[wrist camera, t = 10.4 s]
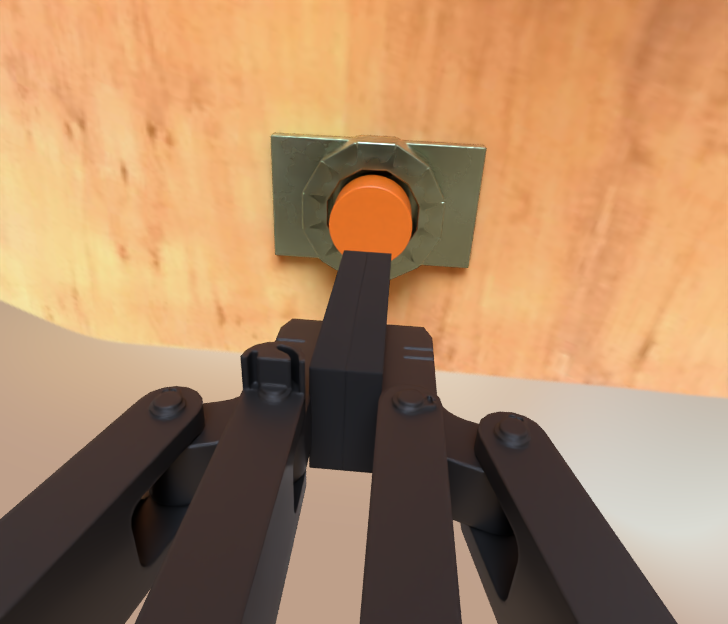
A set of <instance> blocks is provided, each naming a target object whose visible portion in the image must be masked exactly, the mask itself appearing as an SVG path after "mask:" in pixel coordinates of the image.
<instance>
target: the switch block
mask: <svg viewBox="0 0 728 624" xmlns="http://www.w3.org/2000/svg"><path fill="white" fill-rule="evenodd" d="M485 155H486V147H485V146H484V145H474V144H457V143H440V142H423V141H406V140H401V139H399V138H396V137H388V136H371V135H359V136H356V137H339V136H322V135H305V134H289V133H273V134H272V135H271V158H272V185H273V212H274V239H275V255H284V256H298V257H313V258H319V259H320V260H321V261H322V262H324V263H326V264H327V265H329V266H331V267H332V268H334V269H335V270H337V271H338V269H339V265H340V262H341V259H342V254H341V253H340V252H339V251H338V249H337V248H336V247H335V245H334V243H333V241H332V239H331V236H330V232H329V218H330V214H331V211H332V209H333V206H334V204H335V201H336V199H337V196H338V195H339V193H340V191H341V190H342V189H343V188H344V186H345V185H346V184H348V183H349V182H350V181H352V180H354V179H356V178H358V177H361V176H365V175H380V176H384V177H387V178H389V179H391V180H393V181H395V182H396V183H397V184H398V185H400V186H401V187H402V189H403V190H404V191H405V193H406V194H407V196H408V198H409V201H410V204H411V210H412V234H411V238H410V241H409V243H408V245H407V246H406V248H405V249H404V251H403V252H402V253H401V254H400V255H399V256H398V257H396V258H395V259H394V260H392V261H391V270H390V280H391V279H393V278H396V277H398V276H400V275H402V274H405V273H407V272H409V271H411V270H414V269H416V268H418V267H419V266H420V265H430V266H445V267H460V268H468V267H469V260H470V254H471V247H472V241H473V234H474V227H475V221H476V214H477V208H478V201H479V195H480V188H481V181H482V175H483V168H484V162H485Z"/></svg>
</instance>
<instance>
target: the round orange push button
mask: <svg viewBox="0 0 728 624" xmlns="http://www.w3.org/2000/svg"><path fill="white" fill-rule="evenodd" d="M329 232H330V236H331V239H332V241H333V243H334V245H335V247H336V248H337V249H338V251H339V252H340V253H341V254H342V255H343V252H344V250H348V251H362V252H377V253H391V254H392V256H391V261H392V260H394V259H395V258H396V257H398V256H399V255H400V254H401V253H402V252H403V251H404V249H405V248H406V246H407V245H408V243H409V241H410V238H411V234H412V210H411V204H410V201H409V198H408V196H407V194H406V193H405V191H404V190H403V189H402V187H401V186H400V185H398V184H397V183H396V182H395V181H393V180H391V179H389V178H387V177H384V176H380V175H365V176H361V177H358V178H356V179H354V180H352V181H350V182H349V183H348V184H346V185H345V186H344V188H343V189H342V190H341V191H340V193H339V195H338V196H337V199H336V201H335V204H334V206H333V209H332V211H331V214H330V218H329Z"/></svg>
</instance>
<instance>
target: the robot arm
mask: <svg viewBox="0 0 728 624" xmlns="http://www.w3.org/2000/svg"><path fill="white" fill-rule="evenodd" d="M391 256H392V254H391V253H377V252H362V251H348V250H344V252H343V255H342V259H341V262H340V265H339V269H338V272H337V275H336V279H335V282H334V285H333V289H332V292H331V296H330V299H329V302H328V306H327V309H326V312H325V316H324V319H323V321H317V320H304V319H292V320H290V321H289V322H288V323H286V324H285V325H284V326H282V327H281V329H280V331H279V333H278V336H277V338H276V340H275V342H266V343H262V344H258V345H255V346H253V347H251V348H249V349H247V350H246V351H245V352H244V353H243V354H242V355H241V356H240V357H241V368H242V382H243V391H242V393H241V395H240V396H239V397H237V398H234V399H231V400H226V401H219V402H211V403H204V404H203V401H202V397H201V396H200V395H199V393H198V392H197V391H195V390H192V389H190V388H187V387H178V386H174V387H166V388H161V389H158V390H155V391H153V392H150V393H148V394H147V395H145V396H144V397H142V398H141V399H140V400H138V401H137V402H136V403H135V404H134V405H132V406H131V407H130V408H129V409H128V410H127V411H125V412H124V413H123V414H122V415H121V416H120V417H119V418H117V419H116V420H115V421H114V422H113V423H112V424H110V425H109V426H108V427H107V428H106V429H105V430H103V431H102V432H101V433H100V434H99V435H98V436H96V438H94V439H93V440H92V441H91V442H89V443H88V444H87V445H86V446H85V447H84V448H83V449H81V450H80V451H79V452H78V453H77V454H75V455H74V456H73V457H72V458H71V459H70V460H69V461H67V462H66V463H65V464H64V465H63V466H62V467H60V468H59V469H58V470H57V471H56V472H55V473H53V474H52V475H51V476H50V477H49V478H48V479H46V480H45V481H44V482H43V483H42V484H41V485H39V486H38V487H37V488H36V489H35V490H34V491H32V492H31V493H30V494H29V495H28V496H27V497H25V498H24V499H23V500H22V501H21V502H20V503H19V504H17V505H16V506H15V507H14V508H13V509H12V510H10V511H9V512H8V513H7V514H6V515H5V516H3V517H2V518H1V519H0V624H125V622H126V621H127V620H128V619H129V617H130V616H131V614H132V613H133V612H134V610H135V609H136V608H137V606H138V605H139V604H140V602H141V601H142V600H143V598H144V597H145V596H146V594H147V593H148V591H149V590H150V592H149V594H148V596H147V598H146V600H145V602H144V605H143V607H142V609H141V611H140V613H139V615H138V617H137V620H136V622H135V624H275V623H276V619H277V614H278V610H279V605H280V601H281V597H282V592H283V588H284V583H285V578H286V574H287V570H288V565H289V561H290V556H291V551H292V547H293V542H294V538H295V534H296V529H297V525H298V520H299V516H300V511H301V506H302V502H303V498H304V493H305V488H306V467H307V462H308V458H309V462H310V463H309V467H310V468H322V469H333V470H344V471H356V472H367V473H372V484H371V496H370V508H369V519H368V531H367V543H366V555H365V567H364V578H363V590H362V603H361V614H360V624H462V620H461V609H460V597H459V586H458V575H457V565H456V553H455V542H454V531H453V520H455V521H458V522H460V523H461V530H462V533H463V535H464V538H465V540H466V543H467V546H468V548H469V551H470V553H471V556H472V558H473V561H474V564H475V566H476V569H477V571H478V574H479V576H480V579H481V582H482V584H483V587H484V589H485V592H486V594H487V597H488V600H489V602H490V605H491V607H492V609H493V612H494V615H495V618H496V620H497V623H498V624H677V622H676V621H675V619H674V618H673V616H672V615H671V614H670V612H669V611H668V609H667V608H666V606H665V605H664V604H663V602H662V600H661V599H660V598H659V596H658V595H657V593H656V592H655V590H654V589H653V587H652V586H651V585H650V583H649V582H648V580H647V579H646V577H645V576H644V574H643V573H642V572H641V570H640V569H639V567H638V566H637V564H636V563H635V562H634V560H633V559H632V557H631V556H630V554H629V553H628V551H627V550H626V548H625V547H624V545H623V544H622V543H621V541H620V540H619V538H618V537H617V536H616V534H615V532H614V531H613V530H612V528H611V527H610V525H609V524H608V522H607V521H606V520H605V518H604V517H603V515H602V514H601V512H600V511H599V509H598V508H597V506H596V505H595V504H594V502H593V501H592V499H591V498H590V497H589V495H588V493H587V492H586V491H585V489H584V488H583V486H582V485H581V483H580V482H579V480H578V479H577V478H576V476H575V475H574V473H573V472H572V470H571V469H570V467H569V466H568V465H567V463H566V462H565V460H564V459H563V457H562V456H561V454H560V453H559V451H558V450H557V449H556V447H555V446H554V444H553V443H552V441H551V440H550V438H549V437H548V436H547V434H546V433H545V431H544V430H543V429H542V428H541V427H540V426H539V425H538V424H537V423H536V422H534V421H532V420H531V419H529V418H527V417H525V416H522V415H519V414H516V413H512V412H496V413H491V414H488V415H487V416H485V417H484V418H482V419H481V421H480V423H479V424H477V423H474V422H471V421H467V420H464V419H462V418H459V417H457V416H455V415H453V414H452V413H450V412H448V411H447V410H446V409H445V408H444V407H443V406H442V403H441V401H440V398H439V397H438V396H437V390H436V380H435V379H436V378H435V366H434V354H433V341H432V337H431V336H430V335H429V333H428V332H427V331H426V330H425V328H424V327H413V326H400V325H387V310H388V297H389V283H390V270H391Z"/></svg>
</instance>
